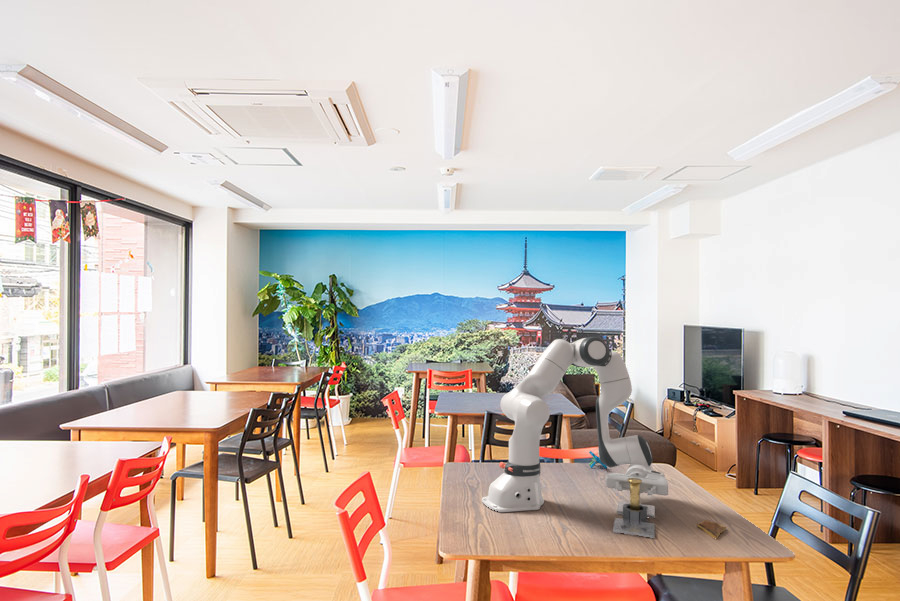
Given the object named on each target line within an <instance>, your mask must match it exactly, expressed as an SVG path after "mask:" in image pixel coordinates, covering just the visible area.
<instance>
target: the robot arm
mask: <svg viewBox="0 0 900 601" xmlns="http://www.w3.org/2000/svg"><path fill="white" fill-rule="evenodd" d="M571 366H574V367H576V368H591V367H592V368H593V369H594V370H595V371H596V374H597V376H598V380H599V383H600V384H599V385H600V394H599V396H597V398H596V401H595V416H596V417H595V418H596V427H597V430H596V431H597V445H598V447H597V454H598V457H599V458H600V461H601V462H602V463H603V464H604V465H606V466H607V468H615V467H620V466H622V465H623V466H624V465H629V466H628V467H627V470H626V472H625V474H624V473H617V472H611V473H608V474H607V475H605V480H604V481H605V487H606V488H608V489H609V488H610V489H614V490H615V489H616V490H617V491H618V492H623V491H628V492H630V482H628V478H638V479H641V480H642V483H640V494H643V493H644V494H647V496H653V495H658V496H669V482H668V479H667V478H665V477H666V476H665V473H663V472H660V471H656V470H653V466H652V463H653V460H654V458H653V452H652V448H651V446H650V444H649V442H648V441H647V439H646V438H644V437H643V436H641V435H640V434H635V435H628V436H625V437H624V436H623V437H618V438H617V437H616V438H611V437H610V429H609V414H610V413H611V412H612V411H614V409H616V408H617V407H619V406H621V405H622V404H623V403H625V402H626V401H628V400H629V398H630V397H631V395H632V393H633V389H632V387H633V386H632V381H631V378H630V374H629V372H628V368H627V366H626V363H625V361H624V359H623V357H622V356H621V354H620V353H619V352H616V351H613V350H611V349H610V348H609V346H608V345H607V343H606V342H605V341H604V339H602V338H600V337H597V336H588V337H582V338H580V339H578V340H575V341H572V342H569V341H567V340H565V339H563V338H556V339H554V340H553V341H552V342H551V343H549V345H548V346H547V347H546V348H545V349H544V351H543V352H542V353H541V355H540V356H539V358H538V359H537V360H536V361H535V364H534V365H533V366H532V368H531V370H529V372H528V373H527V374H526V376H525V377H524V378H523V379H522V380H521V381H520V382H519V383H518V384H517V385H515V387H513V389H512V390H510V391H509V392H506V393H505V394H504V395H503V396H502V397H501V399H500V402H499V403H500V404H499V405H500V409H501V411H502V413H503V414H504V415H505V416H506V417H507V419H509V420H511V421H514V428H513V432H512V434H511V436H510V437H509V439H508V460H507V462H506V463H505V462H503V461H500V462H499V465H498V466H499V468H501V469H504V472H503V473H501V474H500V475H499V476H498V477H497V478H496V479H495V480H494V481H492V482H491V483H490V485H489V487H488V494H487V496H482V498H481V503H482V502H483V503H484V504H485V505H486V506H487V507H486V506H485V505H484V504H483V503H482V504H483V505H484V506H485V507H486V508H488V507H489V508H488V509H490V510H491V509H492V511H494V510H495V511H494V512H497V511H498V512H497V513H509V512H522V511H537V510H540V509H541V506H542V505H544V503H545V500H544V497H543V493H542V492H543V491H542V488H541V478H540V477H541V462H540V440H541V435H542V431H543V428H544V426H545V424H546V423H548V421H549V419H550V414H551V413H550V412H551V411H550V408H549V405H548V404H547V402H545V401H544V400H543V399H544V398H545V397H546V396H548V395H549V394H551V393H553V392H554V391H555V389H556V388H557V386H558V385H559V383H560V382H561V380H562V379H563V377H564V376H565V374H566V372H567V371H568V368H570V367H571Z"/></svg>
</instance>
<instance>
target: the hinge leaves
mask: <svg viewBox="0 0 900 601" xmlns="http://www.w3.org/2000/svg"><path fill="white" fill-rule="evenodd" d="M655 509H656V507H655V505H648V504H642V503H640V510H639V511H637V510H631V509H630V502H626V501H618V503H617V508H616V514H617V515H622V518H620V517H619V518H618V517H615V518H614V522H613V525H612V526H613V527H612V533H615V534H620V533H624V534H623V535H626V534H631V535H630V536H633V535H639V536H645V537H644V538H646V537H650V538H649V539H652V538H655V537H656V536H655V534H656V533H655V530H656V528H655V527H656V526H655V525H656V524H655V523H653V522H648V519H651V518H656V517H655V514H656V513H655V512H656V510H655ZM647 517H649V518H647ZM639 536H638V537H639Z"/></svg>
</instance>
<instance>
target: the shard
mask: <svg viewBox="0 0 900 601" xmlns="http://www.w3.org/2000/svg"><path fill="white" fill-rule="evenodd" d="M696 526H697V528H699V529H700V530H702V531H704V532H705V533H706V534H707V533H708V534H707V535H708V536H710V535H711V536H712V537H711V536H710V537H711V538H713V537H714V538H713V539H715V538H716V539H715V540H718V538H719V536H720V535H721V534H722V533H723V532H724V531H726V529H727V526H725V525H723V524H720V523H718V522H713V521H710V520H705V519H704V520H703V521H702V522H700V523H697V524H696ZM720 533H721V534H720Z"/></svg>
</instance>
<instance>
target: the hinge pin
mask: <svg viewBox="0 0 900 601" xmlns="http://www.w3.org/2000/svg"><path fill="white" fill-rule="evenodd" d="M628 482H630V491H629V503H630V509H631V510H637V511H639V510H640V504H641V502H640V500H641V499H640V495H641V493H640V483H642V480H641V479H638V478H628Z"/></svg>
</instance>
